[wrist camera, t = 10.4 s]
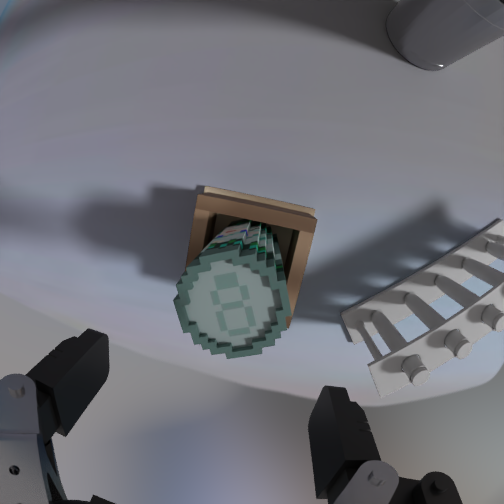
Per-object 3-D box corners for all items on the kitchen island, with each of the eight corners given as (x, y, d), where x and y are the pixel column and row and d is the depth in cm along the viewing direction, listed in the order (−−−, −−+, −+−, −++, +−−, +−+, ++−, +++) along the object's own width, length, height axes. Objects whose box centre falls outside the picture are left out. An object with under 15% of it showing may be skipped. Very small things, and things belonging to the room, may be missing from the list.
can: (272, 213, 30) (277, 241, 15) (284, 272, 31) (297, 347, 16) (211, 225, 30) (162, 264, 16) (225, 283, 32) (193, 363, 17)
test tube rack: (352, 341, 34) (387, 415, 21) (339, 312, 33) (374, 382, 20) (505, 248, 30) (572, 276, 17) (499, 218, 29) (571, 238, 16)
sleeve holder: (207, 186, 30) (193, 187, 25) (313, 208, 30) (324, 215, 25) (189, 287, 33) (174, 308, 27) (288, 308, 33) (292, 334, 27)
